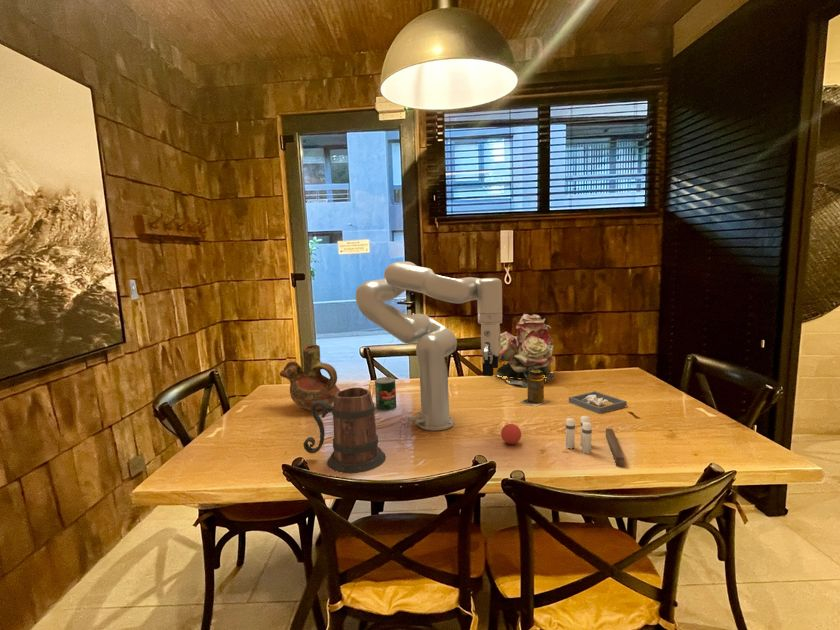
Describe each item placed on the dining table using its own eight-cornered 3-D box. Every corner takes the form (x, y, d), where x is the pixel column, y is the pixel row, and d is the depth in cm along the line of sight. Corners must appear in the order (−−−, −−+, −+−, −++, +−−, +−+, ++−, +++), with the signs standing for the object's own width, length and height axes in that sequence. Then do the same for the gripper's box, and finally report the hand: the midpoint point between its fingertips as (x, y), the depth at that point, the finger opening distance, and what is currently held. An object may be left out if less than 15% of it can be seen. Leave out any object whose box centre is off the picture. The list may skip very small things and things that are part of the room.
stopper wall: (616, 466, 120) (616, 457, 119) (605, 436, 139) (605, 428, 139) (624, 466, 119) (624, 457, 119) (612, 436, 138) (612, 428, 138)
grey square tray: (599, 413, 158) (599, 408, 157) (568, 402, 171) (568, 397, 170) (626, 406, 164) (626, 401, 163) (594, 396, 177) (594, 391, 176)
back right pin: (586, 454, 127) (587, 425, 126) (580, 451, 129) (580, 423, 128) (593, 452, 128) (593, 424, 127) (586, 449, 130) (586, 421, 129)
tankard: (389, 446, 138) (386, 383, 135) (381, 473, 121) (377, 401, 118) (314, 447, 139) (309, 384, 137) (296, 474, 123) (290, 403, 120)
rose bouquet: (484, 377, 210) (483, 313, 206) (537, 369, 220) (536, 308, 216) (514, 392, 186) (513, 320, 182) (572, 382, 196) (572, 314, 192)
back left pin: (585, 447, 132) (585, 419, 131) (578, 444, 134) (578, 416, 133) (591, 445, 133) (591, 417, 132) (584, 442, 135) (585, 415, 134)
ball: (509, 449, 132) (509, 429, 132) (497, 442, 138) (496, 423, 137) (525, 444, 135) (525, 425, 134) (512, 437, 140) (512, 419, 140)
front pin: (570, 449, 130) (570, 421, 129) (563, 446, 133) (563, 419, 132) (576, 447, 132) (576, 420, 130) (570, 444, 134) (570, 417, 133)
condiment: (548, 401, 173) (548, 370, 172) (536, 406, 168) (536, 375, 166) (531, 397, 179) (531, 367, 177) (519, 402, 173) (519, 372, 171)
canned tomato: (387, 412, 168) (385, 383, 166) (371, 408, 172) (370, 381, 171) (400, 406, 174) (399, 378, 172) (385, 403, 179) (384, 376, 177)
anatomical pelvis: (609, 396, 165) (597, 398, 162) (608, 407, 165) (597, 409, 162) (591, 390, 172) (579, 392, 168) (590, 401, 172) (578, 403, 169)
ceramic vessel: (293, 400, 187) (288, 340, 184) (351, 402, 181) (348, 341, 177) (270, 414, 171) (264, 349, 167) (334, 418, 164) (329, 350, 161)
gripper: (498, 322, 131) (498, 379, 133) (505, 314, 147) (506, 365, 149) (472, 322, 133) (473, 378, 135) (482, 314, 149) (483, 364, 151)
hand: (490, 371), depth 142 cm, fingers open, 9 cm apart
